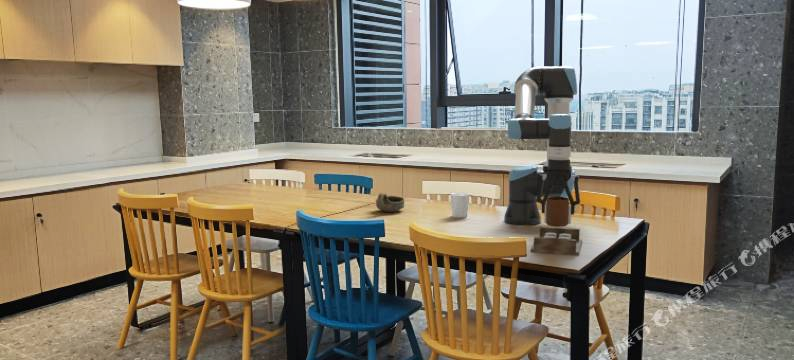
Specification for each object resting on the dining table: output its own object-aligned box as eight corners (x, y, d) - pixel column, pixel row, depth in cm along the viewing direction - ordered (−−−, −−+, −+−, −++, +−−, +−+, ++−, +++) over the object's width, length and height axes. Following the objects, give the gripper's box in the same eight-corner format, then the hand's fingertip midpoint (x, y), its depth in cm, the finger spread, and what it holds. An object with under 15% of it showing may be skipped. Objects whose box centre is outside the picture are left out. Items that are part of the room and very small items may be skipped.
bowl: (410, 209, 297) (410, 188, 296) (392, 216, 282) (392, 194, 280) (384, 207, 303) (384, 187, 302) (366, 214, 288) (365, 192, 287)
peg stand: (530, 251, 219) (531, 237, 218) (537, 239, 237) (537, 226, 236) (578, 255, 214) (579, 240, 213) (582, 242, 231) (582, 228, 231)
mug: (552, 219, 231) (552, 194, 229) (573, 221, 227) (574, 195, 226) (543, 225, 220) (543, 199, 219) (565, 227, 217) (566, 200, 215)
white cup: (448, 217, 278) (448, 195, 277) (453, 214, 286) (453, 192, 284) (465, 218, 275) (465, 196, 274) (470, 215, 283) (470, 193, 281)
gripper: (528, 159, 220) (527, 223, 224) (589, 160, 214) (587, 226, 217) (531, 156, 227) (530, 219, 231) (590, 158, 221) (588, 222, 224)
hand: (557, 222), depth 224 cm, fingers closed on mug, 7 cm apart
